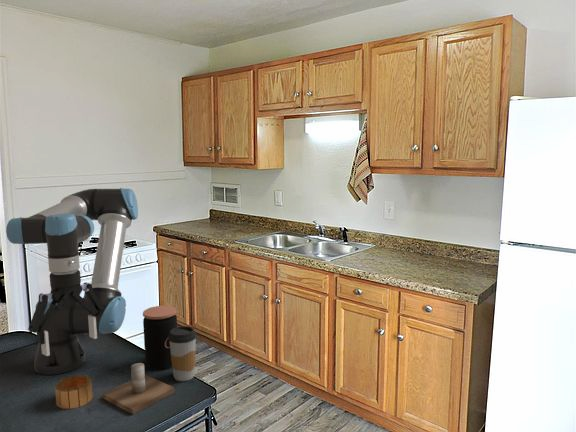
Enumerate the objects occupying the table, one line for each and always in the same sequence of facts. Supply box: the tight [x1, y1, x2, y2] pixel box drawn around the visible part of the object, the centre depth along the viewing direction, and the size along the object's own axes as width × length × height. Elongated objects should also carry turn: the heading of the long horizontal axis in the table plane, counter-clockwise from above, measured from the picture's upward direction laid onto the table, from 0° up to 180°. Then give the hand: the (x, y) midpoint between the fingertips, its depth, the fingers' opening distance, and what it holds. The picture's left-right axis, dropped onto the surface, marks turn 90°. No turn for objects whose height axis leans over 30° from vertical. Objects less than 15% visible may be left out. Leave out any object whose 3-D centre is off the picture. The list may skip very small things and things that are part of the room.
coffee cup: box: [169, 325, 197, 382], centre depth 142 cm, size 8×8×15 cm
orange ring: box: [54, 374, 93, 410], centre depth 130 cm, size 9×9×5 cm
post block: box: [102, 362, 176, 416], centre depth 131 cm, size 14×14×9 cm
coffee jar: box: [142, 305, 178, 371], centre depth 151 cm, size 11×11×18 cm
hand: (70, 345), depth 128 cm, fingers open, 13 cm apart
